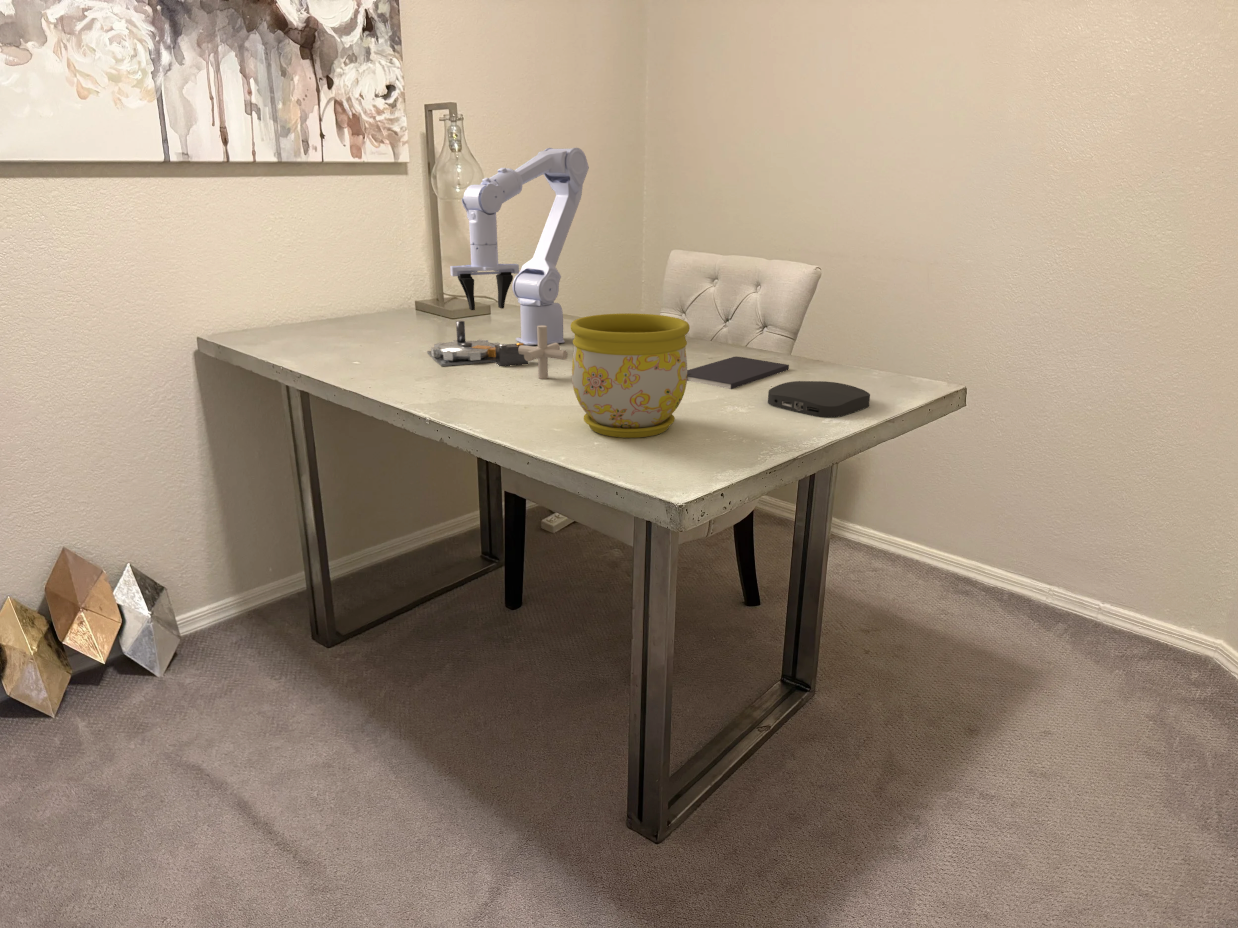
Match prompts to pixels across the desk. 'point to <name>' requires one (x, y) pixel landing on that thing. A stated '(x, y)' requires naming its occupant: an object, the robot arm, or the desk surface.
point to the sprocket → (464, 347)
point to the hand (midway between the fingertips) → (486, 308)
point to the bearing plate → (460, 360)
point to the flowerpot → (629, 372)
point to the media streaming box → (818, 398)
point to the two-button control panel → (509, 355)
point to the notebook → (734, 372)
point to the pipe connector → (542, 352)
